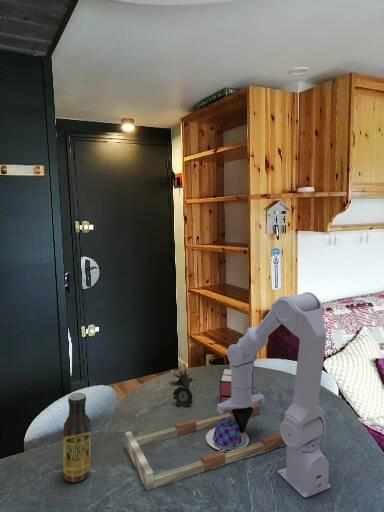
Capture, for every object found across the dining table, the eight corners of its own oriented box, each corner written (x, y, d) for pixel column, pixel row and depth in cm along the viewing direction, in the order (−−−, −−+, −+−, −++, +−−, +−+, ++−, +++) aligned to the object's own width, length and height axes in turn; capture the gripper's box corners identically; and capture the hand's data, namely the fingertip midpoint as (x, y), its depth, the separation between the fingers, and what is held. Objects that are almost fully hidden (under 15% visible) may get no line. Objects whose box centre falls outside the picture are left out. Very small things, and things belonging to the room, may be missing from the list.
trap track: (294, 442, 103) (294, 429, 103) (146, 490, 85) (146, 474, 85) (256, 412, 119) (256, 400, 119) (125, 446, 101) (125, 432, 101)
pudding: (218, 458, 97) (218, 439, 96) (198, 434, 107) (198, 417, 107) (257, 447, 101) (257, 428, 101) (234, 425, 112) (234, 408, 112)
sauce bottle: (64, 487, 86) (61, 405, 84) (62, 470, 92) (59, 393, 90) (93, 479, 89) (91, 399, 87) (89, 463, 94) (87, 388, 92)
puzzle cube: (251, 413, 118) (251, 383, 117) (219, 410, 120) (219, 380, 119) (252, 399, 128) (252, 370, 127) (223, 396, 130) (223, 368, 129)
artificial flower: (168, 411, 123) (160, 381, 123) (179, 388, 145) (172, 363, 146) (194, 405, 122) (186, 375, 122) (201, 383, 144) (194, 357, 145)
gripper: (254, 375, 112) (254, 418, 113) (212, 384, 105) (211, 429, 107) (269, 384, 105) (268, 430, 107) (224, 395, 99) (224, 443, 100)
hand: (241, 431), depth 106 cm, fingers closed
